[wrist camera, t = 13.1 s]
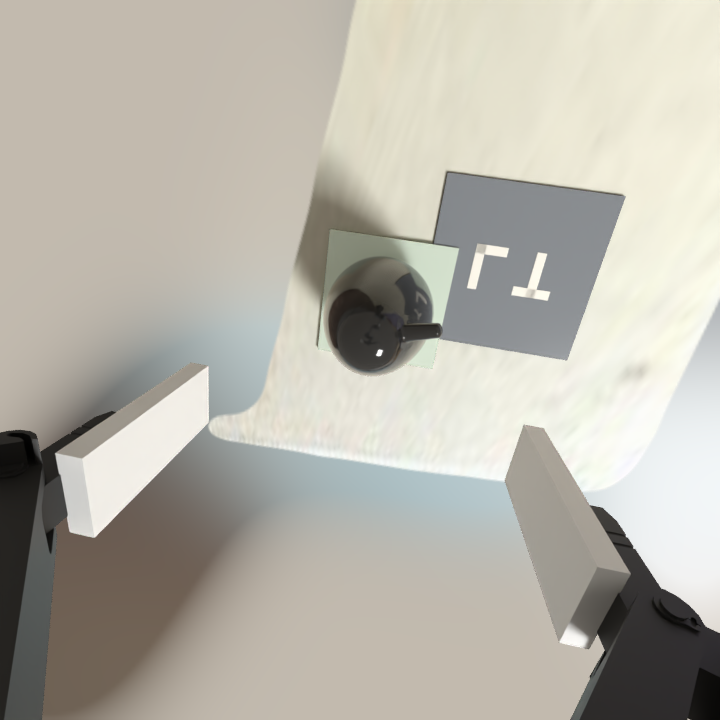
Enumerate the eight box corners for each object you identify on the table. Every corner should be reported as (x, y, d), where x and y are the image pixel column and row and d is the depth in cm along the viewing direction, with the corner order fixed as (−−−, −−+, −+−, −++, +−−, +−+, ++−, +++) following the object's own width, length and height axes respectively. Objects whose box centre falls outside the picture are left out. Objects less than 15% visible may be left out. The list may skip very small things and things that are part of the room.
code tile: (447, 172, 36) (447, 172, 36) (624, 196, 35) (625, 196, 35) (415, 334, 42) (415, 335, 42) (566, 359, 41) (567, 360, 40)
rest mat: (330, 229, 39) (329, 229, 39) (458, 248, 38) (459, 248, 38) (318, 348, 44) (317, 349, 43) (432, 367, 43) (432, 369, 43)
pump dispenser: (440, 339, 41) (455, 403, 27) (347, 355, 43) (315, 422, 29) (425, 242, 38) (431, 257, 24) (325, 264, 40) (276, 290, 26)
